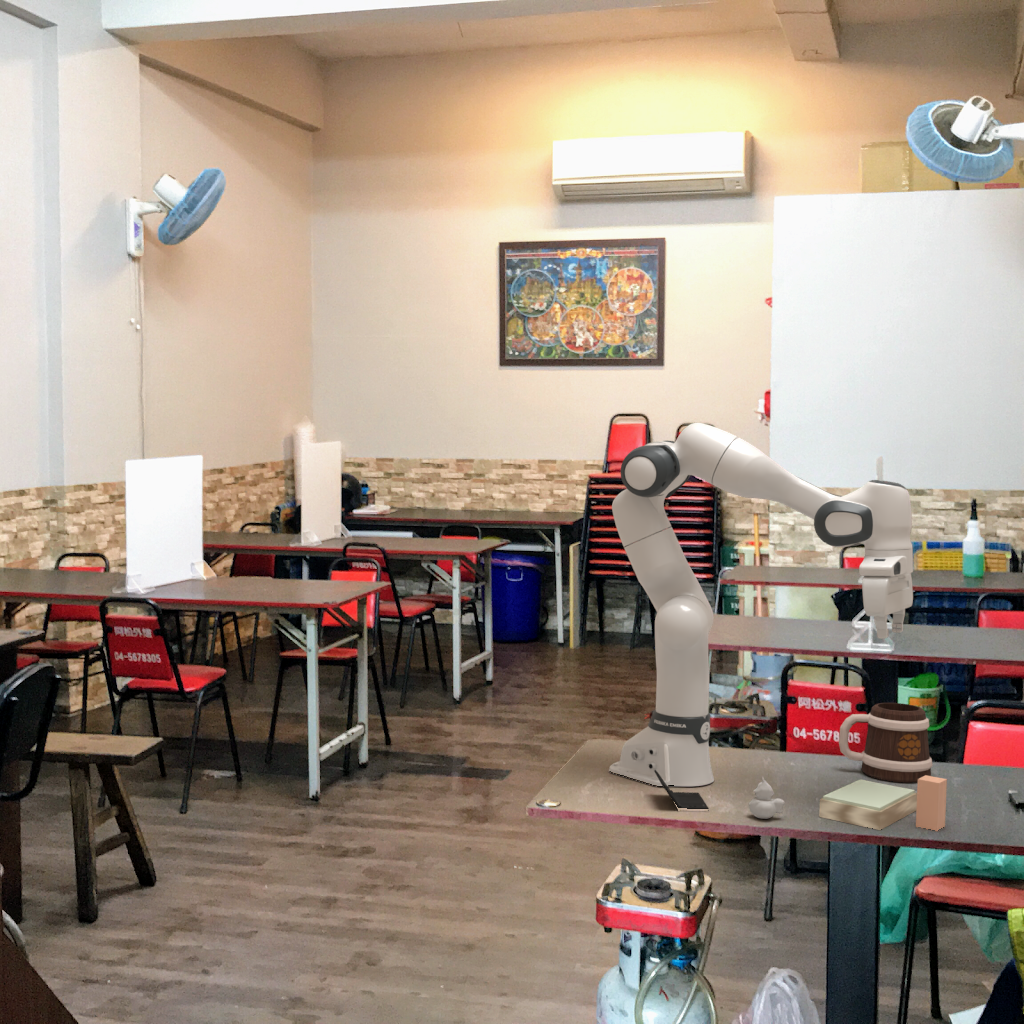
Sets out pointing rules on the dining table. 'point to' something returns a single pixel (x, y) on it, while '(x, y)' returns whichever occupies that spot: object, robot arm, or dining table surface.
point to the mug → (891, 742)
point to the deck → (868, 804)
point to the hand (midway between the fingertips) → (890, 635)
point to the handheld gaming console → (684, 797)
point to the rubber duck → (765, 802)
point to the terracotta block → (931, 802)
